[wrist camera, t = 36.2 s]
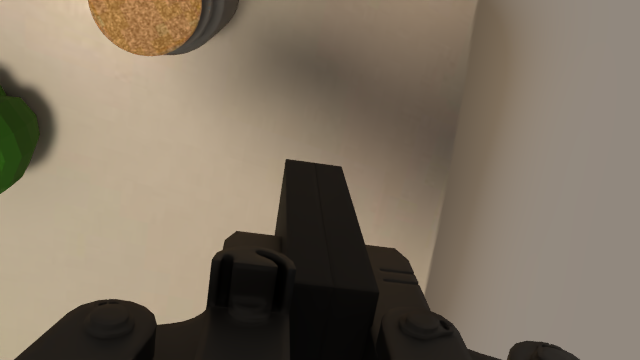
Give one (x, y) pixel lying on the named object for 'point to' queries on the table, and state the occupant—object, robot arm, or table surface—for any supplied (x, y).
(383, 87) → the table surface
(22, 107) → the bell pepper
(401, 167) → the table surface
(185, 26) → the bottle
